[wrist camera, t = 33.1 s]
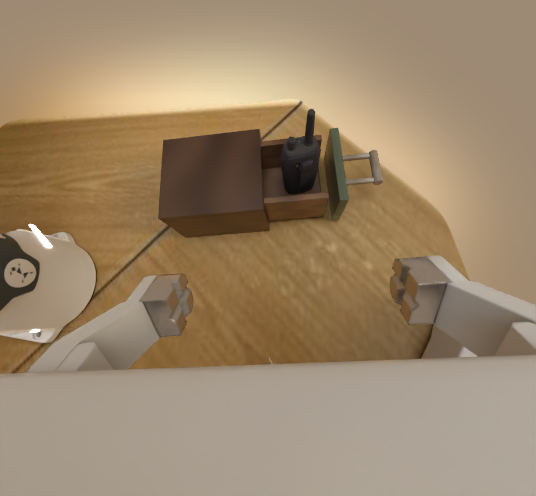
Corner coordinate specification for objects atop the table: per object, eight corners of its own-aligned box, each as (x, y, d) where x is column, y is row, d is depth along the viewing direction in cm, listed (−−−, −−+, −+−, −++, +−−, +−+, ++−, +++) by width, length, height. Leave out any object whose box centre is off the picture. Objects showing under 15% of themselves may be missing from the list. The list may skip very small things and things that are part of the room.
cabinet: (266, 164, 45) (259, 128, 36) (269, 230, 41) (263, 209, 33) (188, 172, 46) (163, 140, 37) (185, 237, 43) (158, 218, 34)
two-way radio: (312, 171, 41) (322, 95, 27) (320, 194, 40) (336, 128, 25) (280, 180, 41) (273, 110, 27) (287, 204, 40) (284, 144, 26)
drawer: (364, 154, 42) (378, 123, 35) (374, 216, 39) (392, 195, 32) (253, 166, 44) (246, 138, 37) (256, 226, 41) (248, 209, 34)
